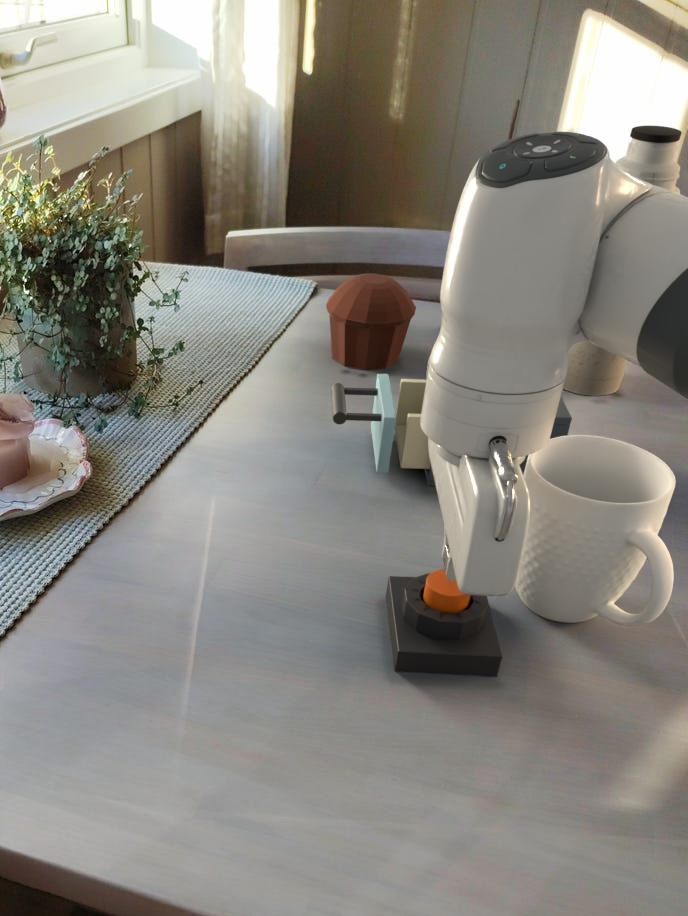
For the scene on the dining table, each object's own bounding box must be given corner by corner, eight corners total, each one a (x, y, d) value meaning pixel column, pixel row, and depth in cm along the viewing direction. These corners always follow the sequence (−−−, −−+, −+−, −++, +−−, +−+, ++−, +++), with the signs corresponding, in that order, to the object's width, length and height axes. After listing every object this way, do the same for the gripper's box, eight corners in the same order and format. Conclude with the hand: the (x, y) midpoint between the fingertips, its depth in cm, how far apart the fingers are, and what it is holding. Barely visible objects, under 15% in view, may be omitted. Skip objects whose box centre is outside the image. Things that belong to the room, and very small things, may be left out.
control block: (478, 600, 78) (487, 562, 75) (497, 677, 70) (508, 639, 68) (385, 595, 78) (391, 558, 76) (394, 672, 71) (401, 633, 68)
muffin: (312, 342, 122) (318, 266, 115) (390, 336, 123) (400, 260, 117) (337, 378, 113) (345, 298, 106) (421, 371, 114) (433, 292, 108)
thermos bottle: (613, 370, 114) (688, 121, 96) (625, 398, 108) (708, 137, 90) (548, 367, 115) (611, 119, 97) (556, 393, 109) (625, 135, 91)
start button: (465, 587, 73) (469, 570, 72) (471, 614, 71) (475, 597, 69) (420, 585, 74) (424, 568, 72) (425, 612, 71) (428, 595, 70)
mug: (689, 648, 73) (752, 511, 65) (582, 685, 70) (634, 546, 61) (565, 552, 83) (606, 423, 75) (467, 580, 80) (498, 449, 72)
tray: (329, 471, 93) (334, 415, 89) (326, 425, 101) (331, 372, 97) (488, 477, 92) (501, 421, 88) (474, 430, 100) (485, 376, 96)
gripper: (570, 486, 53) (520, 660, 62) (509, 348, 69) (476, 503, 78) (462, 483, 54) (428, 656, 63) (426, 346, 69) (402, 500, 78)
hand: (454, 570), depth 70 cm, fingers closed
